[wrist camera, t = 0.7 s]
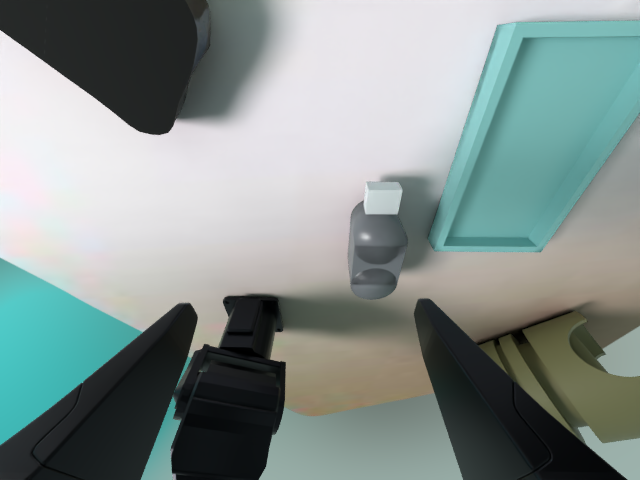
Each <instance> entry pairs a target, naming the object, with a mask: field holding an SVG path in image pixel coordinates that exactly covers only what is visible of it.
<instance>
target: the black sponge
mask: <svg viewBox="0 0 640 480" xmlns="http://www.w3.org/2000/svg"><path fill="white" fill-rule="evenodd" d="M0 30H1V31H2V32H4V33H5V34H7V35H8V36H9V37H11V38H12V39H14V40H15V41H16V42H18V43H19V44H21V45H22V46H23V47H25V48H26V49H28V50H29V51H30V52H32V53H33V54H34V55H36V56H37V57H39V58H40V59H41V60H43V61H44V62H46V63H47V64H48V65H50V66H51V67H52V68H54V69H55V70H57V71H58V72H59V73H61V74H62V75H64V76H65V77H66V78H68V79H69V80H70V81H72V82H73V83H75V84H76V85H77V86H79V87H80V88H82V89H83V90H85V91H86V92H87V93H89V94H90V95H92V96H93V97H94V98H96V99H97V100H98V101H99V102H101V103H102V104H103V105H105V106H106V107H107V108H109V109H110V110H111V111H112V112H114V113H115V114H116V115H117V116H119V117H120V118H121V119H122V120H124V121H125V122H126V123H127V124H128V125H130V126H131V127H133V128H135V129H136V130H138V131H139V132H143V133H148V134H153V135H161V134H165V133H168V132H169V131H170V130H171V128H172V127H173V125H174V122H175V120H176V118H177V116H178V114H179V113H180V111H181V109H182V107H183V104H184V101H185V97H186V92H187V88H188V83H189V81H190V78H191V75H192V73H193V72H194V70H195V68H196V66H197V65H198V63H199V61H200V60H201V58H202V57H203V55H204V54H205V53H206V51H207V50H208V48H209V46H210V10H209V6H208V3H207V1H206V0H0Z"/></svg>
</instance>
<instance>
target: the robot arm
mask: <svg viewBox="0 0 640 480" xmlns="http://www.w3.org/2000/svg"><path fill="white" fill-rule="evenodd" d="M223 304H224V306H225V309H226V311H227V314H228V317H229V319H228V322H227V325H226V327H225V330H224V333H223V335H222V338H221V341H220V343H219V346H218V348H216V347H212V346H210V345H208V344H204V346H203V348H202V349H201V350H197V351H195V352H194V354H193V357H192V359H191V361H190V363H189V366H188V368H187V370H186V371H185V373H184V375H183V377H182V379H181V381H180V382H179V384H178V386H177V383H178V381H179V378H180V375H181V373H182V370H183V368H184V365H185V362H186V360H187V357H188V353H189V350H190V346H191V343H192V339H193V335H194V332H195V328H196V324H197V320H198V317H197V314H196V312H195V310H194V308H193V307H192V305H191V304H190V303H179V304H177V305H176V306H175V307H173V308H172V309H171V310H170V311H169V312H167V313H166V314H165V315H164V316H162V317H161V318H160V319H159V320H158V321H156V322H155V323H154V324H153V325H151V326H150V327H149V328H148V329H147V330H145V331H144V332H143V333H142V334H140V335H139V336H138V337H137V338H136V339H134V340H133V341H132V342H131V343H130V344H128V345H127V346H126V347H125V348H123V349H122V350H121V351H120V352H118V353H117V354H116V355H115V356H114V357H112V358H111V359H110V360H109V361H108V362H106V363H105V364H104V365H103V366H102V367H100V368H99V369H98V370H97V371H95V372H94V373H93V374H92V375H91V376H89V377H88V378H87V379H86V380H85V381H84V382H83V383H81V384H79V385H78V386H77V387H76V388H75V389H73V390H72V391H71V392H70V393H68V394H67V395H66V396H65V397H64V398H62V399H61V400H60V401H58V402H57V403H56V404H55V405H53V406H52V407H51V408H49V410H47V411H46V412H44V413H43V414H42V415H40V416H39V417H38V418H36V419H35V420H34V421H32V422H31V423H30V424H28V425H27V426H26V427H25V428H23V429H22V430H20V431H19V432H18V433H16V434H15V435H13V436H12V437H11V438H9V439H8V440H7V441H5V442H4V443H3V444H1V445H0V480H141V477H142V474H143V472H144V469H145V466H146V464H147V461H148V459H149V456H150V454H151V451H152V448H153V446H154V443H155V441H156V438H157V435H158V433H159V430H160V428H161V425H162V422H163V420H164V417H165V415H166V412H167V409H168V407H169V404H170V402H171V399H172V396H173V397H174V400H175V402H176V406H175V409H176V411H175V414H174V417H173V419H175V420H181V422H180V425H179V428H178V430H177V433H176V435H175V438H174V441H173V443H172V446H171V462H172V474H173V480H259V478H260V476H261V474H262V473H263V471H264V469H265V467H266V464H267V458H268V452H269V446H270V442H271V438H272V435H275V434H276V432H277V430H278V428H279V425H280V422H281V419H282V414H283V409H284V402H285V369H286V362H282V361H280V362H278V361H274V360H270V357H271V351H272V346H273V341H274V335H275V332H282V331H283V323H282V317H281V312H280V306H279V300H278V299H277V298H262V297H225V298H224V300H223ZM414 318H415V323H416V327H417V332H418V337H419V342H420V346H421V351H422V355H423V359H424V362H425V365H426V368H427V371H428V374H429V377H430V380H431V383H432V386H433V389H434V392H435V395H436V398H437V401H438V405H439V408H440V410H441V413H442V416H443V420H444V423H445V425H446V429H447V432H448V435H449V438H450V441H451V444H452V447H453V450H454V453H455V456H456V459H457V462H458V465H459V468H460V471H461V474H462V477H463V480H627V479H626V478H625V477H624V476H622V475H621V474H620V473H619V472H617V471H616V470H615V469H614V468H613V467H611V466H610V465H609V464H608V463H607V462H606V461H605V460H603V459H602V458H601V457H600V456H598V455H597V454H596V453H595V452H594V451H593V450H592V449H590V448H589V447H588V446H587V445H586V444H584V443H583V442H582V441H581V440H580V439H579V438H577V437H576V436H575V435H574V434H573V433H572V432H570V431H569V430H568V429H567V428H566V427H564V426H563V425H562V424H561V423H560V422H559V421H558V420H556V419H555V418H554V417H553V416H552V415H551V414H550V413H549V412H547V411H546V410H545V409H544V408H543V407H542V406H541V405H540V404H539V403H538V402H536V401H535V400H534V399H533V398H532V397H531V396H530V395H529V394H528V393H527V392H526V391H525V390H524V389H523V388H522V387H521V386H520V385H519V384H518V383H516V382H515V381H513V379H512V378H511V377H510V376H509V375H508V374H507V373H506V372H505V371H504V370H503V369H502V368H501V367H500V366H499V365H498V364H497V363H496V362H495V361H494V360H493V359H492V358H491V357H489V356H488V355H487V354H486V353H485V352H484V351H483V350H482V349H481V348H480V347H479V346H478V345H477V344H476V343H475V342H474V341H473V340H472V339H471V338H470V337H469V336H468V335H467V334H466V333H465V332H464V331H463V330H462V329H461V328H460V327H458V326H457V325H456V324H455V323H454V322H453V321H452V320H451V319H450V318H449V317H448V316H447V315H446V314H445V313H444V312H443V311H442V310H441V309H440V308H439V307H438V306H437V305H436V304H435V303H434V302H433V301H432V300H430V299H418V301H417V304H416V308H415V311H414ZM201 371H203V372H201ZM204 371H205V372H204ZM176 386H177V388H176ZM175 389H176V390H175ZM174 391H175V392H174Z"/></svg>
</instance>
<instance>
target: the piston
mask: <svg viewBox="0 0 640 480" xmlns="http://www.w3.org/2000/svg"><path fill="white" fill-rule="evenodd" d="M585 322H588V321H587V320H586V318H584V317H583V316H582V315H581V314H580V313H578V312H576V311H574V312H571V313H569V314H566V315H563V316H560V317H557V318H554V319H552V320H549V321H546V322H543V323H540V324H537V325H535V326H532V327H529V328H526V329H523V330H522V331H523V333H524V334H525V336H526V338H527V339H528V341H529V342H527V343H524V344H521V345H520V343H519V342H518V341H517V340H516V339H515V338H514V336H513V335H511V334H509V335H506V336H503V337H501V338H499V343H500V345H499V344H498V343H497V342H496V341H495V340H492V341H489V342H486V343H484V344H481V345H478V346H479V347H480V348H481V349H482V350H483V351H484V352H485V353H486V354H487V355H488V356H489V357H491V358H492V359H493V360H494V361H495V362H496V363H497V364H498V365H499V366H500V367H501V368H502V369H503V370H504V371H505V372H506V373H507V374H508V375H509V376H510V377H511V378H512V379H513V381H515V382H516V383H518V384H519V385H520V386H521V387H522V388H523V389H524V390H525V391H526V392H527V393H528V394H529V395H530V396H531V397H532V398H533V399H534V400H535V401H536V402H538V403H539V404H540V405H541V406H542V407H543V408H544V409H545V410H546V411H547V412H549V413H550V414H551V415H552V416H553V417H554V418H555V419H556V420H558V421H559V422H560V423H561V424H562V425H563V426H564V427H566V428H567V429H568V430H569V431H570V432H572V433H573V434H574V435H575V436H576V437H577V438H579V439H580V440H581V441H582V442H583V443H584V444H586V443H585V441H584V439H583V437H582V435H581V433H580V432H579V430H578V427H584V426H589V427H590V428H591V429H592V431H593V432H594V433H595V435H596V436H597V437H598V438H599V440H600V441H601V442H602V443H608V442H615V441H622V440H629V439H636V438H640V376H637V377H622V376H616V375H612V374H609V373H608V372H607V371H606V370H605V369H604V368H603V366H602V365H601V364H600V363H599V362H598V361H597V359H598V358H599V357H601V356H603V355H605V352H604V351H603V350H602V349H601V348H600V346H599V345H598V344H597V343H596V341H595V340H594V339H593V338H592V336H591V335H590V334H589V332H588V331H587V330H586V328H585V327H584V325H583V323H585Z"/></svg>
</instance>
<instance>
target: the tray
mask: <svg viewBox="0 0 640 480" xmlns="http://www.w3.org/2000/svg"><path fill="white" fill-rule="evenodd" d="M639 113H640V21H573V22H516V23H509V24H502V25H497V28H496V31H495V34H494V38H493V41H492V44H491V47H490V50H489V53H488V56H487V59H486V62H485V65H484V68H483V71H482V74H481V77H480V80H479V84H478V87H477V90H476V93H475V96H474V99H473V102H472V105H471V108H470V111H469V114H468V117H467V120H466V123H465V126H464V130H463V133H462V136H461V139H460V142H459V145H458V148H457V151H456V154H455V157H454V160H453V163H452V166H451V169H450V172H449V176H448V179H447V182H446V185H445V188H444V191H443V194H442V197H441V200H440V203H439V206H438V209H437V212H436V215H435V218H434V222H433V225H432V228H431V231H430V234H429V237H428V240H429V242H430V244H431V246H432V248H433V250H434V251H457V252H541V251H542V250H543V248H544V247H545V246H546V244H547V243H548V241H549V240H550V238H551V237H552V236H553V234H554V233H555V231H556V230H557V229H558V227H559V226H560V224H561V223H562V222H563V220H564V219H565V217H566V216H567V215H568V213H569V212H570V210H571V209H572V207H573V206H574V205H575V203H576V202H577V200H578V199H579V198H580V196H581V195H582V193H583V192H584V191H585V189H586V188H587V186H588V185H589V184H590V182H591V181H592V179H593V178H594V176H595V175H596V174H597V172H598V171H599V169H600V168H601V167H602V165H603V164H604V162H605V161H606V160H607V158H608V157H609V155H610V154H611V153H612V151H613V150H614V148H615V147H616V145H617V144H618V143H619V141H620V140H621V138H622V137H623V136H624V134H625V133H626V131H627V130H628V129H629V127H630V126H631V124H632V123H633V122H634V120H635V119H636V117H637V116H638V114H639Z"/></svg>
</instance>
